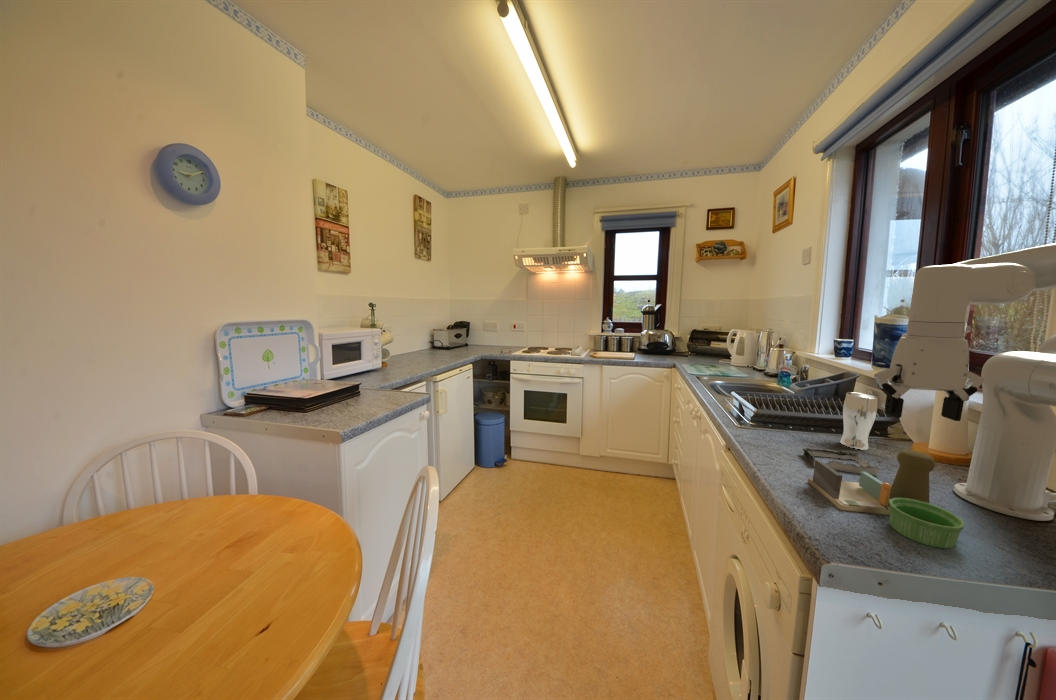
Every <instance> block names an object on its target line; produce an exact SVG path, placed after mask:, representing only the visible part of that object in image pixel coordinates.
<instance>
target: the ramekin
mask: <svg viewBox="0 0 1056 700" xmlns="http://www.w3.org/2000/svg"><path fill="white" fill-rule="evenodd" d="M889 505H890V515H889V518H888V519H889V521H888V522H889V525H890V527H891V528H892V529H893V530H894V531H896V532H897V533H898V534H900V535H902V536H903V537H905V538H907V539H910V540H912V541H914V542H916V543H919V544H923V545H925V546H928V547H933V548H939V549H952V548H954V547H955V546H956V544H957V543H958V539H959V536H960V533H961V532H962V531H963V529H965V522H964V521H963V519H962V518H960V517H959V516H958V515H956V514H954V513H952V512H950V511H949V510H946V509H945V508H942V507H939V506H937V505H935V504H931V503H930V502H929V503H926V502H922V501H918V500H914V499H908V498H893V499H891V500H890V501H889Z"/></svg>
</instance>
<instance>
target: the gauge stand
mask: <svg viewBox="0 0 1056 700" xmlns="http://www.w3.org/2000/svg"><path fill="white" fill-rule="evenodd" d="M813 467H814V466H813ZM807 482H808V484H809V485H811V486H812V487H813V488H814V489H815V490H816V491H817V492H819V493H820V494H822V496H823V497H825V498H826V499H827V500H828V501H830V502H831V503H832V504H833V505H834V506H835V507H837V509H839V510H840V511H848V512H849V511H850V512H858V513H867V514H878V515H887V516H890V506H884V505H882V504H881V503H880V502H879V499H878V498H876V497H875V496H873V495H872V494H870V493H869V492H867V491H866V490H865V489H863V488H862V487H860V486H859V482H854V481H845V480H844V481H843V475H842V474H841V473H839V472H838V471H837V470H834V469H832V468H831V467H829V466H828V465H826V463H825V462H823V461H822V460H821V459H820V460H819V459H815V467H814V469H813V476H812V478H811V477H808V478H807Z"/></svg>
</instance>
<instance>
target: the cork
mask: <svg viewBox="0 0 1056 700" xmlns="http://www.w3.org/2000/svg"><path fill="white" fill-rule="evenodd" d="M896 457H897V463H898V464H899V466H898V469H897V472H896V474H895V478H894V479H893V482H892V484H891V489H890V491H891V492H890V497H889V499H893V498H908V499H914V500H918V501H922V502H926V503H929V504H930V472H932V471H934V468H935V466H936V461H935V459H934V458H933V457H932V456H931V455H929V454H927V453H925V452H922V451H918V450H912V449H902V450H901V451H899V453H897V456H896Z"/></svg>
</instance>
